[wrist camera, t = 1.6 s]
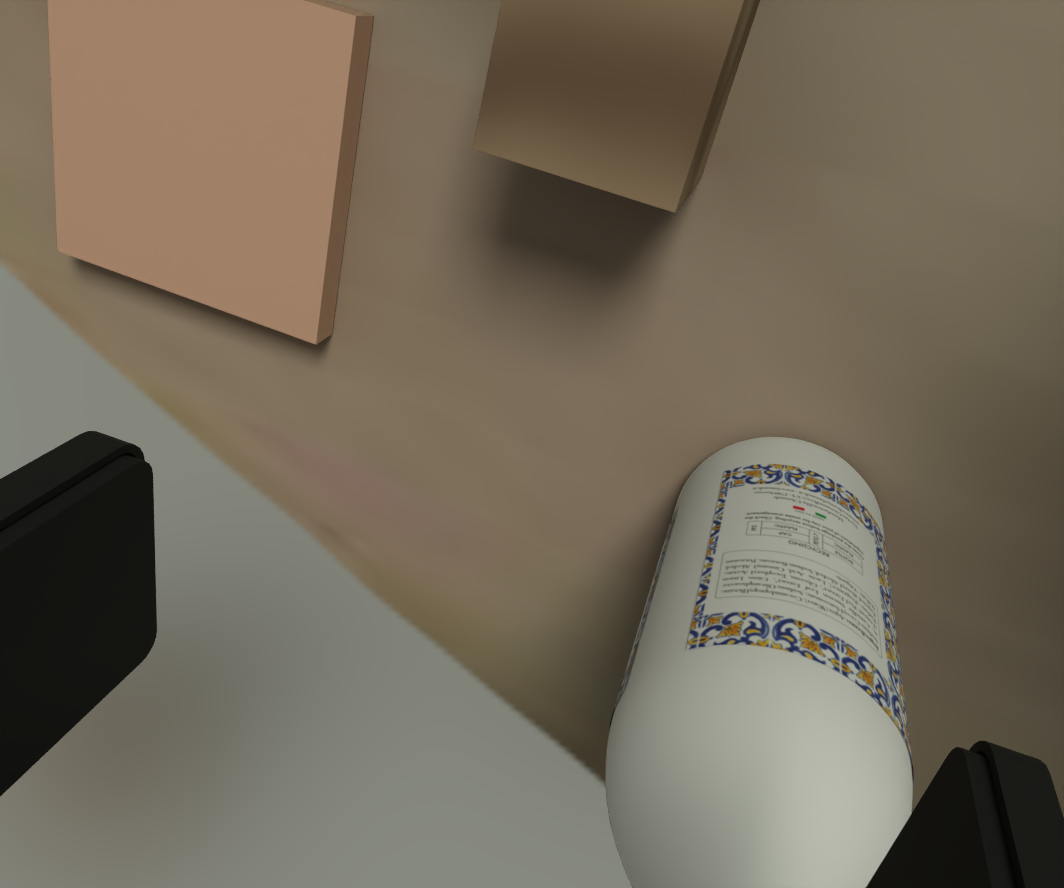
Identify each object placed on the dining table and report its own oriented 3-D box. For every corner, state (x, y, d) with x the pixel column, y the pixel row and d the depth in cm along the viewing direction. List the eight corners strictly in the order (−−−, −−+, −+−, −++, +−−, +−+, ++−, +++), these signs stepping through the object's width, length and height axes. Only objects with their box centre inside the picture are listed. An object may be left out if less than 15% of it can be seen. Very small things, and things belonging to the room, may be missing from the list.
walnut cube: (578, -73, 24) (521, -95, 20) (767, -22, 24) (754, -32, 19) (533, 125, 27) (472, 148, 22) (701, 177, 26) (675, 212, 22)
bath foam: (764, 633, 33) (700, 1322, 15) (637, 504, 32) (419, 1080, 15) (926, 538, 29) (1078, 1290, 12) (788, 391, 28) (737, 970, 11)
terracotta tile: (72, -74, 29) (44, -78, 28) (373, 15, 27) (355, 16, 26) (80, 243, 34) (57, 251, 33) (332, 334, 32) (316, 344, 31)
